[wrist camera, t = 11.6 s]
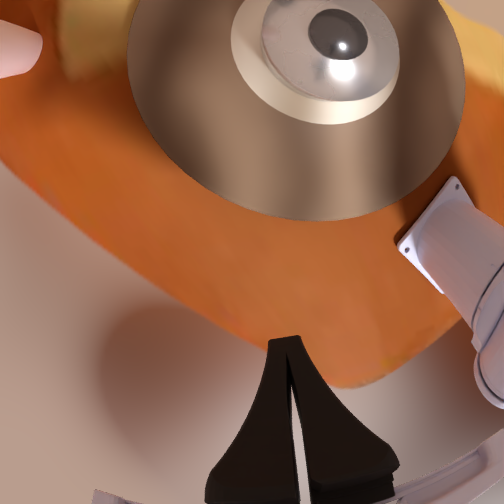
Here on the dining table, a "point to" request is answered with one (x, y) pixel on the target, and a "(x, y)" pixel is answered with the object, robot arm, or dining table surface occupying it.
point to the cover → (329, 48)
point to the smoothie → (18, 49)
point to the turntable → (292, 110)
